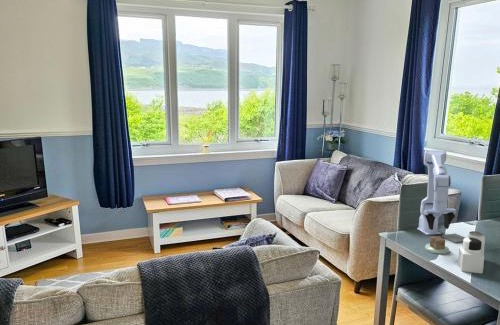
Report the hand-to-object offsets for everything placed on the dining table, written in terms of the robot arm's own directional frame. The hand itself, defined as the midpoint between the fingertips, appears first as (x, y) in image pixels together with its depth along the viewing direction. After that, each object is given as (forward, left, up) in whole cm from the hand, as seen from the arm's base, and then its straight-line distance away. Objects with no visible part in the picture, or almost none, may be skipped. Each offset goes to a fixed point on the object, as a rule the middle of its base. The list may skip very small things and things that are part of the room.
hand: (438, 228), depth 173 cm
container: (+20, +2, -11) cm, 23 cm away
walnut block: (0, 0, -9) cm, 9 cm away
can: (+12, +10, -11) cm, 19 cm away
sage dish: (0, 0, -10) cm, 10 cm away
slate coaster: (-11, +17, -10) cm, 23 cm away
